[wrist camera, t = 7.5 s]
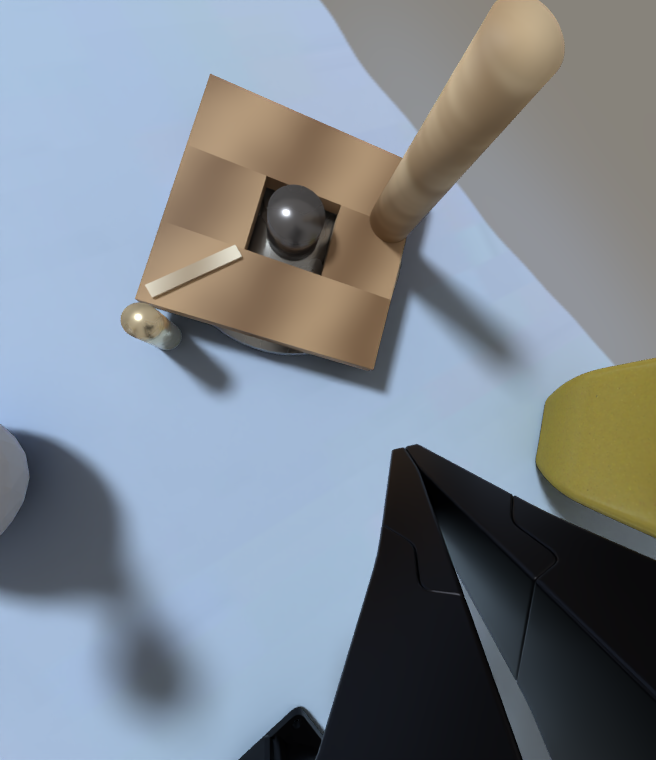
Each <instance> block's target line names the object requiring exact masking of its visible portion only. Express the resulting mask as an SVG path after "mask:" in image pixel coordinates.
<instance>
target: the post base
mask: <svg viewBox="0 0 656 760" xmlns="http://www.w3.org/2000/svg"><path fill="white" fill-rule="evenodd" d="M336 217H337V214H334V213H331V212H329V211H326V210H325V209H324V206H323V204H322V202H321V200H320V198H319V197H318V196H317V195H316V194H315V193H314V192H313V191H312V190H310V189H308V188H306V187H304V186H301V185H295V184H293V185H286V186H283V187H281V188H279V189H277V190H276V191H274V190H272V189H269V188H267V187H266V190H265V193H264V197H263V200H262V203H261V207H260V210H259V213H258V216H257V220H256V223H255V226H254V230H253V233H252V236H251V240H250V243H249V246H248V251H251V252H254V253H257V254H260V255H263V256H266V257H268V258H271V259H274V260H277V261H280V262H283V263H286V264H289V265H292V266H295V267H297V268H300V269H303V270H306V271H309V272H312V273H315V274H318V275H321V272H322V268H323V264H324V261H325V257H326V253H327V250H328V246H329V243H330V239H331V235H332V232H333V228H334V224H335V221H336ZM401 260H402V258H401ZM400 268H401V262H400V265H399V269H398V273H397V277H396V281H395V285H394V289H395V286H396V283H397V280H398V277H399V272H400ZM394 289H393V291H394ZM121 325H122V327H123V329H124V330H125V331H126V332H127V333H128V334H129V335H131V336H133V337H135V338H138V339H140V340H142V341H144V342H146V343H149V344H151V345H153V346H155V347H157V348H160V349H162V350H171V349H174V348H176V347H177V346H178V345H179V344H180V342H181V339H182V334H181V331H180V329H179V328H178V327H177V326H176V325H175V324H174V323H172V322H171V321H170V320H169V319H167V318H166V317H165V316H164V315H162V314H161V313H160V312H159V311H157V310H156V309H155V308H154V307H152V306H151V305H149V304H146V303H140V302H139V303H133V304H131V305H129V306H127V307H126V308H125V309H124V311H123V312H122V315H121ZM213 326H214V325H213ZM214 327H216V328H217V329H219V330H220V331H221V332H223V333H224V334H225V335H227V336H228V337H230V338H232V339H234V340H235V341H237V342H239V343H241V344H243V345H246V346H248V347H251V348H253V349H256V350H259V351H263V352H267V353H271V354H279V355H308V354H309V353H305V352H302V351H298V350H295V349H292V348H288V347H285V346H282V345H278V344H275V343H271V342H268V341H265V340H261V339H258V338H255V337H251V336H248V335H244V334H241V333H238V332H234V331H231V330H228V329H224V328H221V327H217V326H214Z"/></svg>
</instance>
